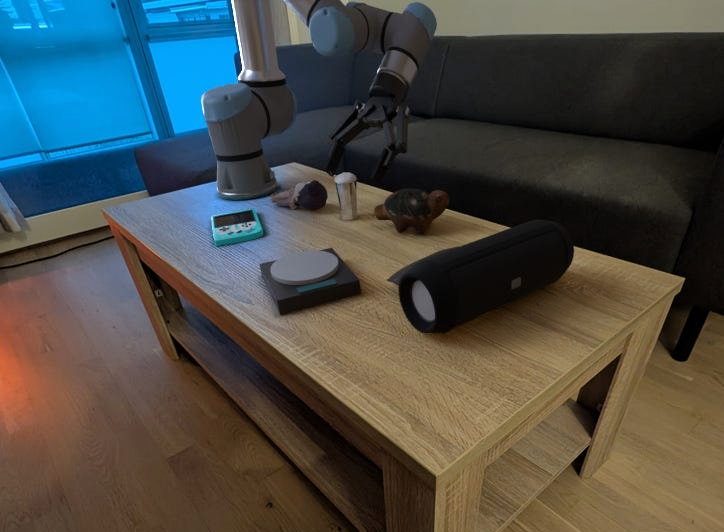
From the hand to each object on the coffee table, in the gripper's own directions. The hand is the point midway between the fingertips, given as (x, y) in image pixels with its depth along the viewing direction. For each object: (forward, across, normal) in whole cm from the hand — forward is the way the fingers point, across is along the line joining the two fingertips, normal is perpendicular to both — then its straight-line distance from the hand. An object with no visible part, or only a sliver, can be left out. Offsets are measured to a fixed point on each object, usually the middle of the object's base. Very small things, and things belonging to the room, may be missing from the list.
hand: (350, 177), depth 93 cm
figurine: (+9, +14, -3) cm, 16 cm away
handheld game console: (+19, +17, +8) cm, 27 cm away
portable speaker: (+18, -43, +6) cm, 47 cm away
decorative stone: (+16, -33, +5) cm, 37 cm away
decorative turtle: (+6, -16, -6) cm, 18 cm away
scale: (+25, -16, +14) cm, 33 cm away
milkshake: (+7, 0, -4) cm, 8 cm away
